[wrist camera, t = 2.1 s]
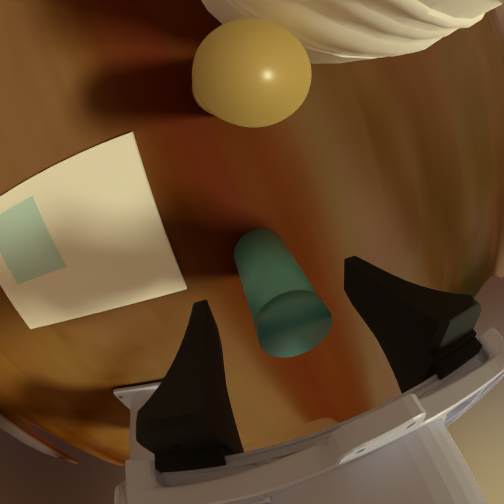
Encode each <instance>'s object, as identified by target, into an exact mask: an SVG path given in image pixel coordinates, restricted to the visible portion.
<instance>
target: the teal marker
mask: <svg viewBox="0 0 504 504" xmlns="http://www.w3.org/2000/svg"><path fill="white" fill-rule="evenodd" d="M234 260H235V263H236V266H237V270H238V273H239V276H240V279H241V282H242V286H243V289H244V292H245V295H246V298H247V301H248V305H249V308H250V311H251V314H252V317H253V320H254V323H255V330H256V333H257V336H258V340H259V343H260V345H261V348H262V349H263V350H264V351H265V352H266V353H267V354H269V355H271V356H275V357H292V356H297V355H300V354H303V353H305V352H307V351H309V350H311V349H312V348H314V347H315V346H317V345H318V344H319V343H320V342H321V341H322V340H323V339H324V338H325V337H326V336H327V334H328V332H329V331H330V328H331V325H332V317H331V314H330V312H329V310H328V309H327V307H326V305H325V304H324V302H323V301H322V299H321V298H320V297H319V296H318V295H317V293H316V292H315V290H314V288H313V287H312V285H311V284H310V282H309V281H308V279H307V277H306V276H305V274H304V273H303V271H302V270H301V268H300V267H299V265H298V263H297V262H296V260H295V259H294V257H293V256H292V254H291V253H290V251H289V250H288V248H287V247H286V245H285V243H284V242H283V240H282V239H281V237H280V236H279V235H278V234H277V233H275V232H274V231H272V230H269V229H255V230H252V231H250V232H248V233H246V234H245V235H243V236H242V237H241V238H240V239H239V240H238V242H237V244H236V246H235V248H234Z"/></svg>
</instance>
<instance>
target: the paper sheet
mask: <svg viewBox="0 0 504 504" xmlns="http://www.w3.org/2000/svg"><path fill="white" fill-rule="evenodd" d="M0 285H1V287H2V289H3V290H4V292H5V293H6V295H7V297H8V298H9V300H10V301H11V303H12V304H13V306H14V307H15V309H16V310H17V311H18V313H19V314H20V316H21V317H22V318H23V320H24V321H25V323H26V324H27V325H28V327H29V328H30V329H33V328H37V327H41V326H46V325H50V324H54V323H58V322H62V321H66V320H70V319H74V318H78V317H82V316H86V315H90V314H94V313H98V312H102V311H106V310H110V309H114V308H118V307H122V306H125V305H129V304H133V303H137V302H141V301H145V300H148V299H152V298H156V297H160V296H163V295H167V294H171V293H175V292H178V291H182V290H186V289H187V286H186V283H185V281H184V278H183V276H182V273H181V271H180V268H179V266H178V263H177V261H176V258H175V256H174V253H173V250H172V248H171V245H170V243H169V240H168V237H167V234H166V232H165V229H164V226H163V224H162V221H161V218H160V215H159V212H158V209H157V207H156V204H155V201H154V198H153V195H152V192H151V189H150V186H149V183H148V180H147V177H146V173H145V170H144V167H143V164H142V161H141V157H140V154H139V151H138V147H137V144H136V140H135V137H134V133H133V132H130V133H128V134H125V135H122V136H119V137H117V138H114V139H112V140H109V141H107V142H104V143H102V144H99V145H97V146H95V147H92V148H90V149H88V150H86V151H83V152H81V153H79V154H77V155H75V156H72V157H70V158H68V159H66V160H64V161H62V162H60V163H58V164H56V165H54V166H52V167H50V168H48V169H46V170H44V171H42V172H41V173H39V174H37V175H35V176H33V177H32V178H30V179H28V180H26V181H25V182H23V183H21V184H19V185H18V186H16V187H14V188H13V189H11V190H10V191H8V192H6V193H5V194H3V195H2V196H0Z"/></svg>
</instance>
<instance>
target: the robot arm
mask: <svg viewBox="0 0 504 504" xmlns="http://www.w3.org/2000/svg"><path fill="white" fill-rule="evenodd" d="M344 290H345V292H346V294H347V296H348V298H349V299H350V301H351V303H352V305H353V306H354V307H355V309H356V310H357V312H358V313H359V314H360V316H361V317H362V318H363V320H364V321H365V323H366V324H367V325H368V327H369V328H370V329H371V331H372V332H373V334H374V335H375V337H376V338H377V340H378V342H379V344H380V346H381V347H382V349H383V351H384V353H385V355H386V357H387V359H388V361H389V363H390V366H391V368H392V370H393V372H394V375H395V377H396V379H397V382H398V385H399V387H400V390H401V393H402V394H401V395H399V396H397V397H395V398H393V399H391V400H389V401H387V402H385V403H383V404H381V405H379V406H377V407H375V408H373V409H371V410H369V411H367V412H364V413H362V414H360V415H358V416H355V417H353V418H351V419H348V420H346V421H344V422H341V423H339V424H336V425H333V426H331V427H328V428H326V429H323V430H320V431H317V432H314V433H312V434H309V435H306V436H303V437H300V438H297V439H293V440H290V441H287V442H283V443H280V444H276V445H272V446H269V447H265V448H261V449H257V450H253V451H249V452H244V450H243V447H242V444H241V441H240V437H239V434H238V430H237V427H236V423H235V420H234V416H233V412H232V408H231V404H230V400H229V396H228V392H227V386H226V380H225V371H224V362H223V353H222V345H221V340H220V336H219V331H218V327H217V325H216V322H215V320H214V317H213V315H212V312H211V310H210V307H209V305H208V302H207V300H203V301H199V302H195V303H194V304H193V308H192V312H191V316H190V320H189V323H188V326H187V329H186V332H185V335H184V338H183V341H182V343H181V346H180V348H179V351H178V353H177V355H176V357H175V359H174V361H173V363H172V365H171V367H170V369H169V370H168V372H167V374H166V376H165V377H164V379H163V380H162V382H157V383H151V384H145V385H139V386H132V387H125V388H118V389H114V392H113V394H114V395H115V396H116V397H117V398H118V399H119V400H120V401H121V402H122V403H123V404H124V405H125V406H126V407H128V408H129V409H130V460H126V461H125V467H126V481H122V482H121V484H119V485H118V486H117V487H116V489H115V498H114V504H487V502H486V499H485V497H484V495H483V494H482V491H481V489H480V487H479V486H478V484H477V482H476V480H475V478H474V476H473V474H472V472H471V470H470V469H469V467H468V465H467V463H466V461H465V460H464V458H463V456H462V454H461V452H460V451H459V449H458V447H457V446H456V444H455V442H454V440H453V439H452V437H451V435H450V434H449V432H448V430H447V429H446V427H447V426H448V425H450V424H451V423H452V422H453V421H455V420H456V419H457V418H458V417H460V416H461V415H462V414H463V413H465V412H466V411H467V410H468V409H469V408H471V406H473V405H474V404H475V403H476V402H477V401H479V400H480V399H481V398H482V397H483V396H484V395H485V394H487V393H488V392H489V391H490V390H491V389H492V388H493V387H494V386H495V385H496V384H497V383H498V382H499V381H500V380H501V379H502V377H503V376H504V338H502V336H501V335H500V334H499V333H498V332H497V331H496V329H495V328H494V327H492V328H491V329H489V330H488V331H487V332H486V333H484V334H483V335H482V336H481V337H480V338H479V339H478V340H477V339H476V337H475V336H476V332H475V331H474V330H473V327H474V326H475V324H476V322H477V319H478V317H479V315H480V312H481V305H480V304H479V303H478V302H477V301H476V300H475V299H474V298H473V297H472V296H471V295H465V294H454V293H448V292H442V291H437V290H433V289H430V288H426V287H422V286H419V285H416V284H414V283H411V282H408V281H406V280H403V279H401V278H399V277H396V276H394V275H392V274H390V273H388V272H386V271H384V270H382V269H380V268H378V267H376V266H374V265H372V264H370V263H368V262H366V261H364V260H362V259H360V258H358V257H356V256H353V257H349V258H346V259H345V263H344Z"/></svg>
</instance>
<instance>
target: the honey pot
mask: <svg viewBox="0 0 504 504" xmlns="http://www.w3.org/2000/svg"><path fill="white" fill-rule="evenodd" d="M201 1H202V2H203V4H204V6H205V7H206V9H207V11H209V12H210V13H211V14H212V15H213V16H214V17H215V18H216V19H217V20H218V21H219V22H220V23H222V24H226V23H228V22H231V21H234V20H239V19H248V18H253V19H262V20H267V21H270V22H273V23H276V24H278V25H280V26H282V27H284V28H285V29H287V30H288V31H289V32H291V33H292V34H293V35H294V36H295V37H296V38H297V39H298V40H299V41H300V43H301V44H302V45H303V47H304V49H305V50H306V52H307V55H308V57H309V61H310V63H313V64H318V63H344V62H351V61H358V60H365V59H373V58H382V57H386V56H392V57H394V56H399V55H403V54H408V53H413V52H418V51H421V50H424V49H426V48H427V47H429V46H430V45H432V44H433V43H435V42H436V41H438V40H440V39H441V38H442V37H445V36H447V35H449V34H450V33H452V32H454V31H455V30H457V29H458V28H467V27H470V26H472V25H473V24H475V23H476V22H478V21H479V20H481V19H482V18H483V16H484V14H485V12H487V11H489V10H491V9H493V8H495V7H497V6H499V5H501V4H504V0H201Z"/></svg>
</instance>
